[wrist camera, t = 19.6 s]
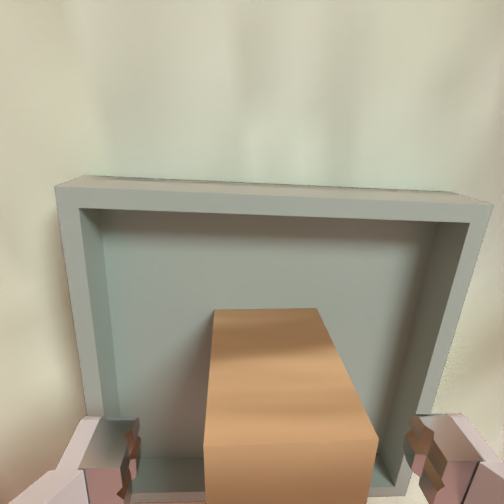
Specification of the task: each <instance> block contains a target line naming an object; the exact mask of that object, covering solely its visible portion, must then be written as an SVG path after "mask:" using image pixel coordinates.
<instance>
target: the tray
mask: <svg viewBox="0 0 504 504" xmlns="http://www.w3.org/2000/svg"><path fill="white" fill-rule="evenodd" d="M54 189H55V196H56V203H57V210H58V217H59V224H60V230H61V237H62V244H63V251H64V258H65V265H66V272H67V279H68V286H69V293H70V299H71V306H72V313H73V320H74V327H75V334H76V341H77V348H78V355H79V362H80V368H81V375H82V382H83V389H84V396H85V403H86V410H87V416H99V417H102V416H118V417H138V418H139V421H140V429H139V432H138V436H139V437H140V438H141V458H140V465H139V469H138V473H137V476H136V477H135V478H134V479H133V480H132V491H133V492H132V496H131V500H130V503H163V502H201V501H206V498H205V474H204V450H203V445H204V432H205V420H206V407H207V395H208V382H209V370H210V357H211V345H212V332H213V320H214V309H281V308H317V310H318V312H319V314H320V316H321V318H322V320H323V322H324V325H325V327H326V329H327V331H328V333H329V335H330V337H331V339H332V341H333V344H334V346H335V348H336V350H337V352H338V354H339V356H340V358H341V360H342V362H343V365H344V367H345V369H346V371H347V373H348V375H349V377H350V379H351V381H352V383H353V386H354V388H355V390H356V392H357V394H358V396H359V398H360V400H361V402H362V405H363V407H364V409H365V411H366V413H367V415H368V417H369V419H370V421H371V423H372V426H373V428H374V430H375V432H376V434H377V436H378V438H379V442H378V447H377V452H376V457H375V462H374V467H373V472H372V477H371V482H370V487H369V492H368V497H389V496H405V495H406V492H407V488H408V485H409V482H410V478H411V475H412V472H413V471H412V470H411V469H410V467H409V465H408V463H407V461H406V458H405V455H404V448H403V442H404V437H405V435H406V434H407V433H408V432H409V431H410V430H411V428H410V426H409V424H408V423H409V419H410V417H411V416H412V415H413V414H430V413H431V409H432V406H433V403H434V399H435V396H436V393H437V390H438V386H439V383H440V380H441V376H442V373H443V370H444V366H445V363H446V360H447V357H448V353H449V350H450V347H451V343H452V340H453V337H454V334H455V330H456V327H457V324H458V320H459V317H460V314H461V311H462V307H463V304H464V301H465V297H466V294H467V291H468V287H469V284H470V281H471V278H472V274H473V271H474V268H475V264H476V261H477V258H478V255H479V251H480V248H481V245H482V241H483V238H484V235H485V232H486V228H487V225H488V222H489V218H490V215H491V212H492V208H493V205H492V204H489V203H486V202H482V201H479V200H476V199H473V198H469V197H466V196H463V195H459V194H456V193H453V192H442V191H420V190H398V189H376V188H354V187H332V186H310V185H288V184H266V183H244V182H222V181H199V180H177V179H155V178H133V177H111V176H89V175H84V176H81V177H79V178H76V179H73V180H70V181H67V182H64V183H62V184H59V185H56V186H54Z"/></svg>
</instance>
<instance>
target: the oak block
mask: <svg viewBox="0 0 504 504" xmlns="http://www.w3.org/2000/svg"><path fill="white" fill-rule="evenodd" d="M378 442H379V438H378V436H377V434H376V432H375V430H374V428H373V426H372V423H371V421H370V419H369V417H368V415H367V413H366V411H365V409H364V407H363V405H362V402H361V400H360V398H359V396H358V394H357V392H356V390H355V388H354V386H353V383H352V381H351V379H350V377H349V375H348V373H347V371H346V369H345V367H344V365H343V362H342V360H341V358H340V356H339V354H338V352H337V350H336V348H335V346H334V344H333V341H332V339H331V337H330V335H329V333H328V331H327V329H326V327H325V325H324V322H323V320H322V318H321V316H320V314H319V312H318V310H317V308H281V309H214V320H213V332H212V345H211V357H210V370H209V382H208V395H207V407H206V420H205V432H204V445H203V450H204V474H205V498H206V504H366V502H367V497H368V492H369V487H370V482H371V477H372V472H373V467H374V462H375V457H376V452H377V447H378Z"/></svg>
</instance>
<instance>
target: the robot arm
mask: <svg viewBox="0 0 504 504" xmlns="http://www.w3.org/2000/svg"><path fill="white" fill-rule="evenodd" d="M408 424H409V426H410V428H411V430H410V431H409V432H408V433H407V434H406V435H405V437H404V442H403V448H404V455H405V458H406V461H407V463H408V465H409V467H410V469H411V470H412V471H413V472H414V473H415V474H417V475H418V476H419V477H420V480H419V486H420V488H421V490H422V492H423V494H424V496H425V497H426V499H427V501H428V503H429V504H504V461H502V460H501V459H500V457H499V456H498V455H497V454H496V452H495V451H494V450H493V449H492V448H491V446H490V445H489V444H488V443H487V441H486V440H485V439H484V438H483V437H482V435H481V434H480V433H479V432H478V430H477V429H476V428H475V427H474V425H473V424H472V423H471V422H470V421H469V419H468V418H467V417H466V416H465V415H463V414H461V413H458V414H413V415H412V416H411V417H410V419H409V423H408ZM139 429H140V421H139V418H138V417H118V416H102V417H99V416H84V417H83V418H82V419H81V420H80V422H79V423H78V425H77V427H76V429H75V431H74V433H73V435H72V437H71V439H70V441H69V443H68V445H67V447H66V449H65V451H64V453H63V455H62V457H61V459H60V461H59V463H58V465H57V467H56V469H55V470H49V471H48V472H46V473H45V474H44V475H43V476H41V477H40V478H39V479H38V480H36V481H35V482H34V483H33V484H31V485H30V486H29V487H28V488H27V489H25V490H24V491H23V492H22V493H20V494H19V495H18V496H17V497H15V498H14V499H13V500H12V501H10V502H9V503H8V504H129V503H130V500H131V496H132V492H133V491H132V480H133V479H134V478H135V477H136V476H137V473H138V469H139V465H140V458H141V438H140V437H139V436H138V432H139Z"/></svg>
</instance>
